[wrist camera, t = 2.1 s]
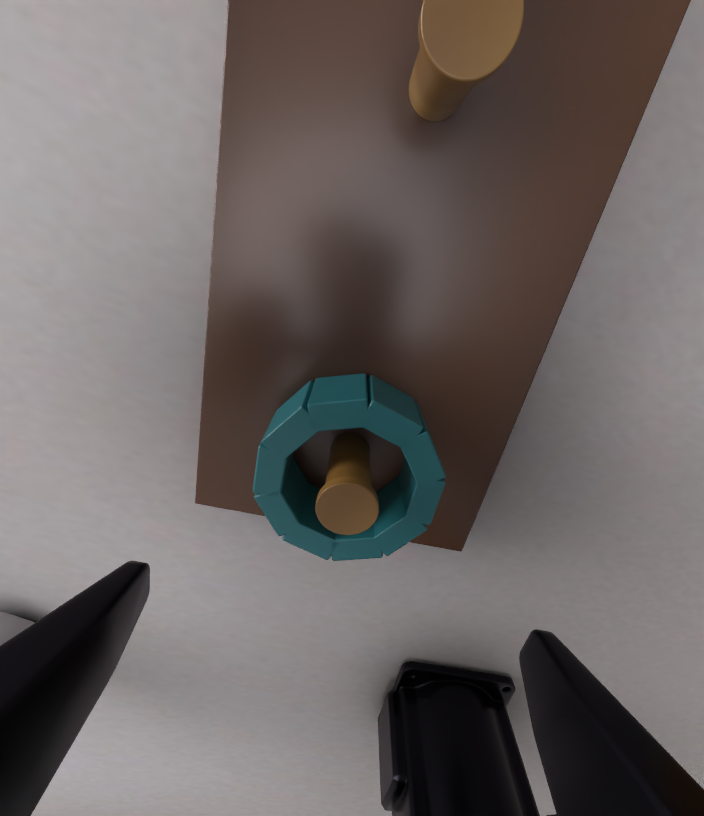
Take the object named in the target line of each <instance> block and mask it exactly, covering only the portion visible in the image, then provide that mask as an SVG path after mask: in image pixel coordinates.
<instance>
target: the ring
mask: <svg viewBox="0 0 704 816" xmlns="http://www.w3.org/2000/svg"><path fill="white" fill-rule="evenodd" d="M351 428H365V429H367V430H369V431H371V432H372V433H374V434H376V435H378V436H380V437H382V438H384V439H386V440H387V441H389V442H391V443H393V444H395V445H397V446H399V447H401V449H402V451H403V454H404V456H405V458H404V461H403V465H402V468H401V471H400V474H399V476H398V477H397V478H395V479H394V480H393V481H391V482H390V483H389V484H387V485H386V486H384V487H383V488H382V489H380V490H379V491H378V492H376V494H377V496H378V501H379V514H378V517H377V519H376V521H375V522H374V524H373V525H372V526H371V527H370V528H369V529H367V530H365V531H364V532H361V533H358V534H354V535H341V534H337V533H334V532H332V531H330V530H328V529H327V528H325V527H324V526H323V525H322V524H321V522H320V521H319V519H318V517H317V515H316V511H315V506H316V499H317V495H318V493H319V491H320V489H319V488H317V487H315V486H313V485H311V484H309V483H308V482H307V480H306V478H305V477H304V475H303V473H302V471H301V470H300V468H299V466H298V465H297V463H296V461H295V459H294V458H293V452H294V451H296V450H297V449H298V448H299V447H301V446H302V445H303V444H304V443H305V442H307V441H308V440H309V439H310V438H311V437H313V436H314V435H315V434H316V433H317V432H319V431H328V430H340V429H351ZM444 478H446V474H445V472H444V469H443V466H442V464H441V461H440V458H439V456H438V453H437V450H436V447H435V445H434V442H433V440H432V437H431V435H430V432H429V430H428V427H427V425H426V423H425V420H424V418H423V415H422V413H421V410H420V408H419V405H418V403H417V402H414V399H413V398H412V397H411V396H409V395H407V394H405V393H404V392H402V391H400V390H398V389H396V388H395V387H393V386H391V385H389V384H388V383H386V382H384V381H382V380H380V379H379V378H377V377H375V376H373V375H370V376H369V378H368V379H367V376H366V374H365V373H363V374H353V375H342V376H332V377H321V378H316V379H315V382H313V381H312V380H310V381H309V382H308V383H307V384H306V385H304V386H303V387H302V388H301V389H300V390H299V391H298V392H297V393H295V394H294V395H293V396H292V397H291V398H290V399H289V400H287V401H286V402H285V403H284V404H283V405H282V406H281V407H280V408H278V409H277V410H276V412H275V414H274V416H273V418H272V420H271V422H270V424H269V427H268V429H267V431H266V433H265V435H264V437H263V439H262V441H261V443H260V445H259V447H258V453H257V461H256V468H255V476H254V483H253V492H254V493H255V496H254V499H255V500H256V502H257V503H258V505H259V506H260V508H261V510H262V511H263V513H264V514H265V516H266V517H267V519H268V520H269V522H270V523H271V525H272V526H273V528H274V530H275V531H276V533H277V534H278V536H282V535H284V536H283V540H284V541H286V542H288V543H290V544H293V545H295V546H297V547H299V548H301V549H304V550H306V551H308V552H310V553H313V554H315V555H317V556H319V557H321V558H324V559H326V560H328V559H329V558H330V556H331V555H332V560H333V561H339V560H354V559H369V558H381V557H382V556H383V553H384V554H385V555H386V556H388V555H390V554H391V553H393V552H394V551H396V550H398V549H399V548H401V547H402V546H404V545H405V544H407V543H408V542H410V541H411V540H413V539H414V538H416V537H417V536H419V535H420V534H422V533H423V532H425V531H426V530H427V525H430V524H431V522H432V519H433V517H434V514H435V511H436V508H437V506H438V503H439V500H440V497H441V495H442V492H443V489H444V486H445V484H446V482H445V479H444Z"/></svg>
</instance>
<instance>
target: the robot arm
mask: <svg viewBox="0 0 704 816" xmlns="http://www.w3.org/2000/svg"><path fill="white" fill-rule="evenodd" d="M149 589H150V567H149V565H148V564H147V563H143V562H137V561H129V562H127V563H125V564H124V565H122V566H121V567H119V568H117V569H116V570H114V571H113V572H111V573H110V574H108V575H107V576H105V577H104V578H102V579H101V580H99V581H98V582H96V583H95V584H93V585H92V586H90V587H89V588H87V589H86V590H84V591H83V592H81V593H79V594H78V595H76V596H75V597H73V598H72V599H70V600H69V601H67V602H66V603H64V604H63V605H61V606H60V607H58V608H57V609H55V610H54V611H52V612H51V613H49V614H48V615H46V616H45V617H43V618H41V619H40V620H38V621H37V622H35V623H34V624H32V625H31V626H29V627H28V628H26V629H25V630H23V631H22V632H20V633H19V634H17V635H16V636H14V637H13V638H11V639H10V640H8V641H7V642H5V643H3V644H2V645H0V816H31V814H32V812H33V811H34V809H35V807H36V805H37V804H38V802H39V800H40V799H41V797H42V795H43V793H44V792H45V790H46V788H47V786H48V785H49V783H50V781H51V780H52V778H53V776H54V774H55V773H56V771H57V769H58V768H59V766H60V764H61V762H62V761H63V759H64V757H65V755H66V754H67V752H68V750H69V749H70V747H71V745H72V743H73V742H74V740H75V738H76V737H77V735H78V733H79V731H80V730H81V728H82V726H83V725H84V723H85V721H86V719H87V718H88V716H89V714H90V712H91V711H92V709H93V707H94V706H95V704H96V702H97V700H98V699H99V697H100V695H101V694H102V692H103V690H104V688H105V687H106V685H107V683H108V681H109V679H110V678H111V676H112V674H113V672H114V670H115V668H116V666H117V664H118V662H119V659H120V657H121V655H122V653H123V651H124V649H125V646H126V644H127V642H128V640H129V638H130V636H131V633H132V631H133V629H134V627H135V625H136V623H137V620H138V618H139V616H140V614H141V612H142V610H143V607H144V605H145V603H146V601H147V598H148V595H149ZM519 659H520V667H521V672H522V677H523V682H524V687H525V692H526V697H527V702H528V707H529V712H530V717H531V722H532V727H533V731H534V736H535V740H536V743H537V747H538V751H539V754H540V758H541V761H542V765H543V768H544V772H545V775H546V779H547V782H548V786H549V789H550V792H551V796H552V799H553V803H554V806H555V810H556V813H557V814H555V815H547V816H704V789H703V788H702V787H701V786H700V785H699V784H698V783H697V782H696V781H695V780H694V779H693V778H692V777H691V776H690V775H689V774H688V773H687V772H686V771H685V770H684V769H683V768H682V767H681V766H680V765H679V763H678V762H677V761H676V760H675V759H674V758H673V757H672V756H671V755H670V754H669V753H668V752H667V751H666V750H665V749H664V748H663V747H662V746H661V745H660V744H659V743H658V742H657V741H656V740H655V739H654V738H653V737H652V735H651V734H650V733H649V732H648V731H647V730H646V729H645V728H644V727H643V726H642V725H641V724H640V723H639V722H638V721H637V720H636V719H635V718H634V717H633V716H632V715H631V714H630V713H629V712H628V711H627V710H626V709H625V708H624V706H623V705H622V704H621V703H620V702H619V701H618V700H617V699H616V698H615V697H614V696H613V695H612V694H611V693H610V692H609V691H608V690H607V689H606V688H605V687H604V686H603V685H602V684H601V683H600V682H599V681H598V680H597V678H596V677H595V676H594V675H593V674H592V673H591V672H590V671H589V670H588V669H587V668H586V667H585V666H584V665H583V664H582V663H581V662H580V661H579V660H578V659H577V658H576V657H575V656H574V655H573V654H572V653H571V652H570V651H569V649H568V648H567V647H566V646H565V645H564V644H563V643H562V642H561V641H560V640H559V639H558V638H557V637H556V636H555V635H554V634H553V633H551V632H548V631H543V630H533V631H532V632H531V633H530V635H529V637H528V638H527V640H526V642H525V644H524V646H523V647H522V649H521V651H520V657H519ZM514 692H515V686H514V683H513V680H512V679H511V678H510V677H506V676H500V675H494V674H488V673H481V672H475V671H469V670H463V669H457V668H450V667H444V666H438V665H432V664H425V663H419V662H413V661H409V662H406V663H404V664H403V665H402V667H401V670H400V672H399V675H398V677H397V680H396V682H395V685H394V687H393V690H391V691H390V692H389V693H388V694H387V697H386V699H385V702H384V704H383V707H382V709H381V712H380V714H379V717H378V735H379V760H380V786H381V804H382V806H383V808H384V809H385V810H387V811H392V816H540V815H539V812H538V809H537V805H536V802H535V799H534V796H533V793H532V790H531V786H530V783H529V780H528V777H527V774H526V770H525V767H524V764H523V761H522V758H521V755H520V751H519V748H518V745H517V742H516V739H515V735H514V732H513V729H512V726H511V723H510V720H509V716H508V713H507V710H506V705H507V703H508V702H509V700H510V698H511V697H512V695H513V693H514Z"/></svg>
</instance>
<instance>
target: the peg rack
mask: <svg viewBox="0 0 704 816" xmlns="http://www.w3.org/2000/svg"><path fill="white" fill-rule="evenodd" d="M690 1H691V0H228V13H227V28H226V43H225V58H224V73H223V88H222V103H221V119H220V134H219V149H218V164H217V179H216V194H215V210H214V225H213V240H212V255H211V270H210V285H209V300H208V316H207V331H206V346H205V361H204V376H203V391H202V406H201V422H200V437H199V452H198V467H197V482H196V497H195V503H197V504H202V505H208V506H213V507H219V508H224V509H230V510H235V511H241V512H246V513H252V514H258V515H263V516H265V514H264V513H263V511H262V510H261V508H260V506H259V505H258V503H257V502H256V500H255V499H254V496H255V493H254V492H253V483H254V476H255V468H256V461H257V453H258V447H259V445H260V443H261V441H262V439H263V437H264V435H265V433H266V431H267V429H268V427H269V424H270V422H271V420H272V418H273V416H274V414H275V412H276V410H277V409H278V408H280V407H281V406H282V405H283V404H284V403H285V402H286V401H287V400H289V399H290V398H291V397H292V396H293V395H294V394H295V393H297V392H298V391H299V390H300V389H301V388H302V387H303V386H304V385H306V384H307V383H308V382H309V381H310V380H312V381H313V382H315V379H316V378H321V377H332V376H342V375H353V374H363V373H365V374H366V376H367V379H368V378H369V376H370V375H373V376H375V377H377V378H379V379H380V380H382V381H384V382H386V383H388V384H389V385H391V386H393V387H395V388H396V389H398V390H400V391H402V392H404V393H405V394H407V395H409V396H411V397H412V398H413V399H414V402H417V403H418V405H419V408H420V410H421V413H422V415H423V418H424V420H425V423H426V425H427V427H428V430H429V432H430V435H431V437H432V440H433V442H434V445H435V447H436V450H437V453H438V456H439V458H440V461H441V464H442V466H443V469H444V472H445V474H446V478H444V479H445V482H446V484H445V486H444V489H443V492H442V495H441V497H440V500H439V503H438V506H437V508H436V511H435V514H434V517H433V519H432V522H431V524H430V525H427V530H426V531H425V532H423V533H422V534H420V535H419V536H417V537H416V538H414V539H413V540H411V541H410V542H412V543H418V544H423V545H429V546H434V547H440V548H445V549H451V550H456V551H462V549H463V547H464V544H465V542H466V540H467V537H468V535H469V532H470V530H471V527H472V525H473V523H474V520H475V518H476V515H477V513H478V511H479V508H480V506H481V503H482V501H483V499H484V496H485V494H486V491H487V489H488V487H489V484H490V482H491V479H492V477H493V475H494V472H495V470H496V467H497V465H498V463H499V460H500V458H501V455H502V453H503V451H504V448H505V446H506V443H507V441H508V438H509V436H510V434H511V431H512V429H513V426H514V424H515V422H516V419H517V417H518V414H519V412H520V410H521V407H522V405H523V402H524V400H525V398H526V395H527V393H528V390H529V388H530V386H531V383H532V381H533V378H534V376H535V374H536V371H537V369H538V366H539V364H540V362H541V359H542V357H543V354H544V352H545V350H546V347H547V345H548V342H549V340H550V337H551V335H552V333H553V330H554V328H555V325H556V323H557V321H558V318H559V316H560V313H561V311H562V309H563V306H564V304H565V301H566V299H567V297H568V294H569V292H570V289H571V287H572V285H573V282H574V280H575V277H576V275H577V273H578V270H579V268H580V265H581V263H582V261H583V258H584V256H585V253H586V251H587V249H588V246H589V244H590V241H591V239H592V236H593V234H594V232H595V229H596V227H597V224H598V222H599V220H600V217H601V215H602V212H603V210H604V208H605V205H606V203H607V200H608V198H609V196H610V193H611V191H612V188H613V186H614V184H615V181H616V179H617V176H618V174H619V172H620V169H621V167H622V164H623V162H624V160H625V157H626V155H627V152H628V150H629V147H630V145H631V143H632V140H633V138H634V135H635V133H636V131H637V128H638V126H639V123H640V121H641V119H642V116H643V114H644V111H645V109H646V107H647V104H648V102H649V99H650V97H651V95H652V92H653V90H654V87H655V85H656V83H657V80H658V78H659V75H660V73H661V71H662V68H663V66H664V63H665V61H666V59H667V56H668V54H669V51H670V49H671V46H672V44H673V42H674V39H675V37H676V34H677V32H678V30H679V27H680V25H681V22H682V20H683V18H684V15H685V13H686V10H687V8H688V6H689V3H690ZM293 458H294V459H295V461H296V463H297V465H298V466H299V468H300V470H301V471H302V473H303V475H304V477H305V478H306V480H307V482H308V483H309V484H311V485H313V486H315V487H317V488H319V489H320V491H319V493H318V495H317V499H316V506H315V511H316V515H317V517H318V519H319V521H320V522H321V524H322V525H323V526H324V527H325V528H327V529H328V530H330V531H332V532H334V533H337V534H341V535H354V534H358V533H361V532H364V531H365V530H367V529H369V528H370V527H371V526H372V525H373V524H374V522H375V521H376V519H377V517H378V514H379V501H378V496H377V494H376V492H378V491H379V490H380V489H382V488H383V487H384V486H386V485H387V484H389V483H390V482H391V481H393V480H394V479H395V478H397V477H398V476H399V474H400V471H401V468H402V465H403V461H404V458H405V456H404V454H403V451H402V449H401V447H399V446H397V445H395V444H393V443H391V442H389V441H387V440H386V439H384V438H382V437H380V436H378V435H376V434H374V433H372V432H371V431H369V430H367V429H365V428H351V429H340V430H328V431H319V432H317V433H316V434H315V435H314V436H313V437H311V438H310V439H309V440H308V441H307V442H305V443H304V444H303V445H302V446H301V447H299V448H298V449H297V450H296V451H294V452H293Z"/></svg>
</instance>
